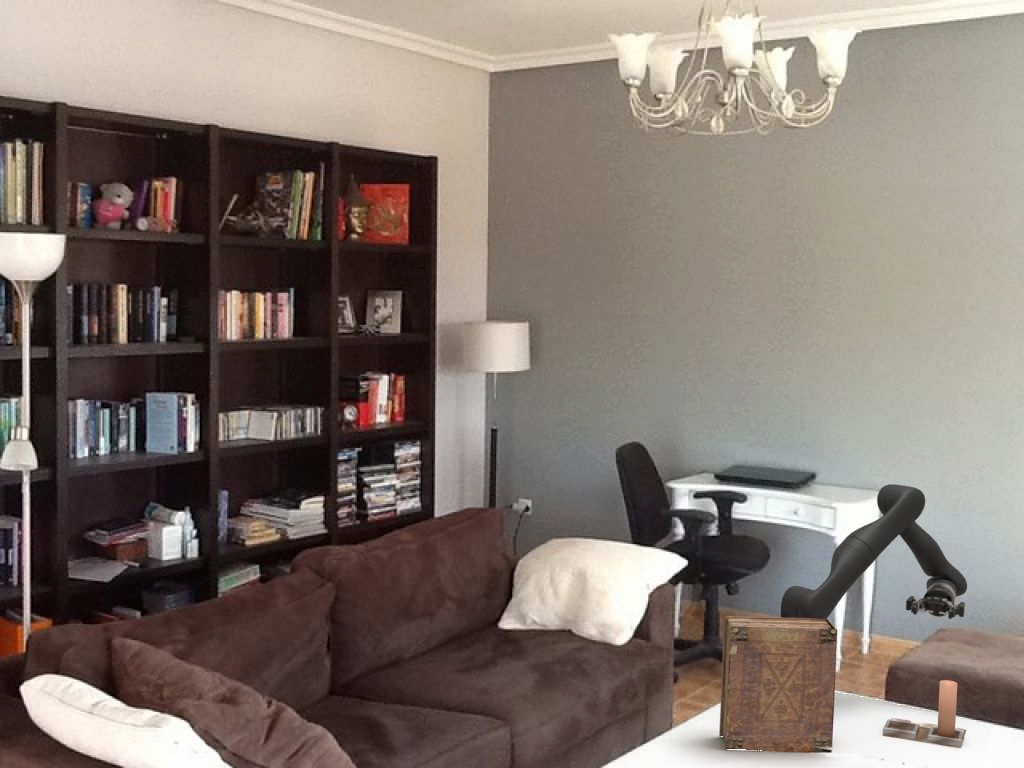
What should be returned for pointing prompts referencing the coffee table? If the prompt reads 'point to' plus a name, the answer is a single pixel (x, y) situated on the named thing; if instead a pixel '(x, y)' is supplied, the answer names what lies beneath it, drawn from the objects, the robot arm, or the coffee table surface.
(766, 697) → the book
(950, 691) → the terracotta pin
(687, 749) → the coffee table surface
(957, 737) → the walnut socket board
